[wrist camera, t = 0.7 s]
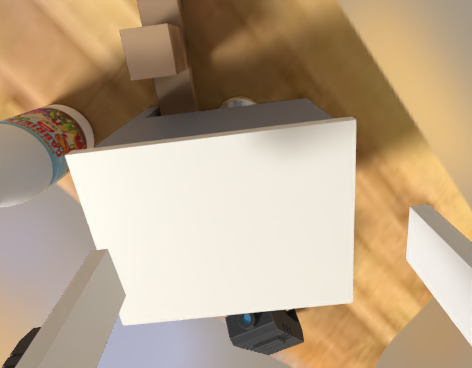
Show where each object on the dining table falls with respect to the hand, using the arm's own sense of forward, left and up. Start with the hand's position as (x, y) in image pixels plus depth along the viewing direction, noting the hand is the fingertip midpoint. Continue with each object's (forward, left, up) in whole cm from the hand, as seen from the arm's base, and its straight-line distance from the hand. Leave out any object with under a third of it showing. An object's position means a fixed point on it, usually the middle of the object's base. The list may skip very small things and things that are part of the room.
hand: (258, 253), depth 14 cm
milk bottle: (-1, -22, -29) cm, 36 cm away
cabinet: (+4, -2, -29) cm, 29 cm away
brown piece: (-4, -7, -29) cm, 30 cm away
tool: (+23, 0, -29) cm, 37 cm away
